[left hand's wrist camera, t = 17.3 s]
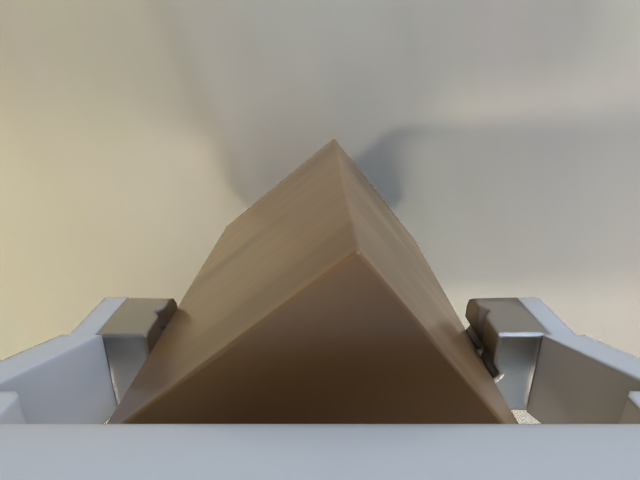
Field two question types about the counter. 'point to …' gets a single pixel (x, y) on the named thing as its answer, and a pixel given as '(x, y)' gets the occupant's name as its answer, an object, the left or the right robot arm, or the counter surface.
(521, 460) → the left robot arm
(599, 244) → the counter surface
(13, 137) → the counter surface
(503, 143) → the counter surface
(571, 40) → the counter surface
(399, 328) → the brown wooden block
